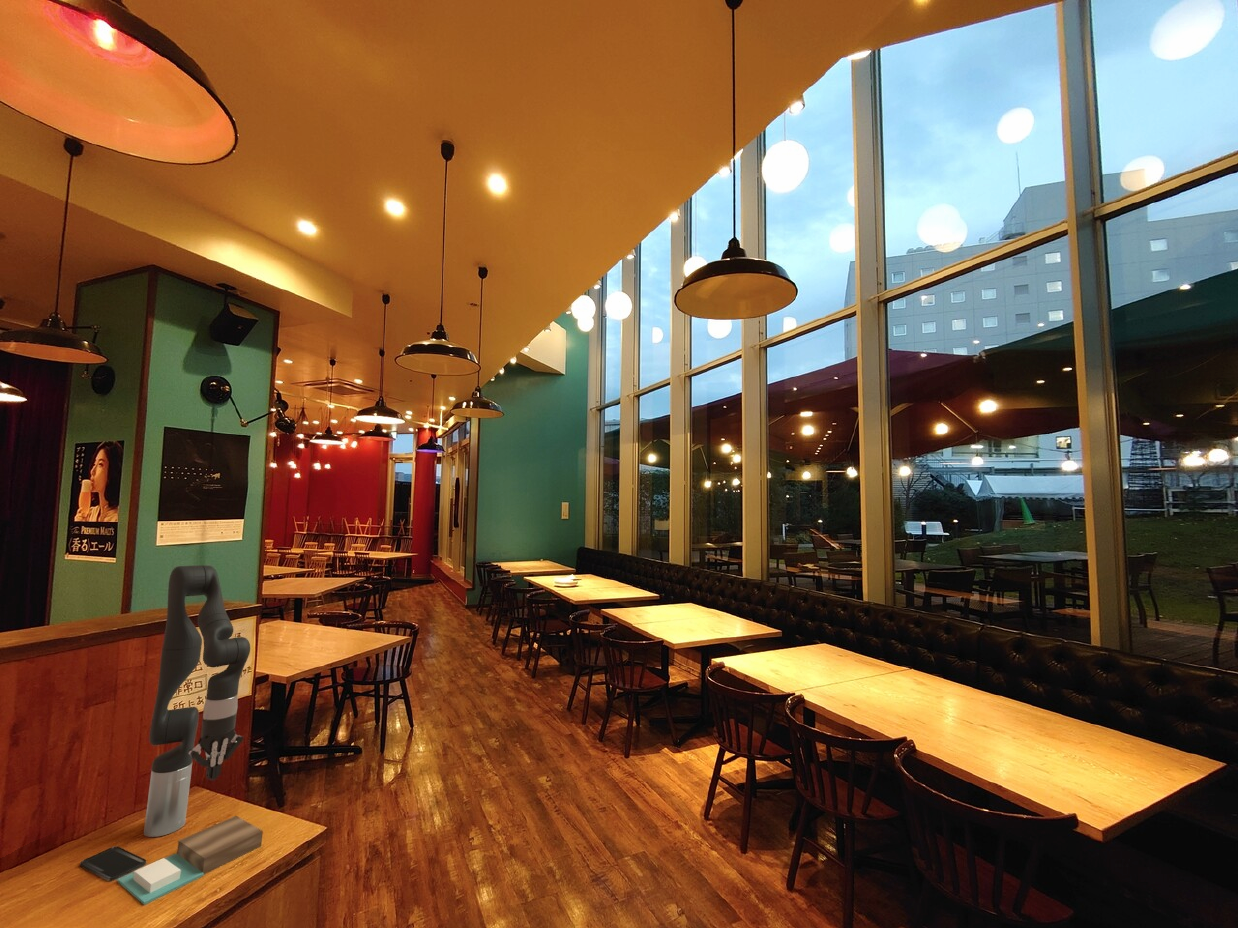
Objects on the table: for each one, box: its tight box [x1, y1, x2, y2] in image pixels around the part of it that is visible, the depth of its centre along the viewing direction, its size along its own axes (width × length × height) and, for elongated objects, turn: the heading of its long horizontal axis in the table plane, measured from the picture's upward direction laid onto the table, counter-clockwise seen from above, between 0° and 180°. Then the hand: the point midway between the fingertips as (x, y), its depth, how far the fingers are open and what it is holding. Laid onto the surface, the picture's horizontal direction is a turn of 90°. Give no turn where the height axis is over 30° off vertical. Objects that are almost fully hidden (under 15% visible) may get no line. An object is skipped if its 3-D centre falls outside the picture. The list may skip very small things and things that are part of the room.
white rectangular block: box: [133, 857, 181, 893], centre depth 131 cm, size 9×6×2 cm, turn 62°
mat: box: [117, 853, 205, 906], centre depth 132 cm, size 15×12×1 cm
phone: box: [79, 845, 147, 882], centre depth 137 cm, size 8×1×15 cm
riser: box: [176, 815, 264, 875], centre depth 144 cm, size 14×14×4 cm
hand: (212, 778), depth 143 cm, fingers closed
